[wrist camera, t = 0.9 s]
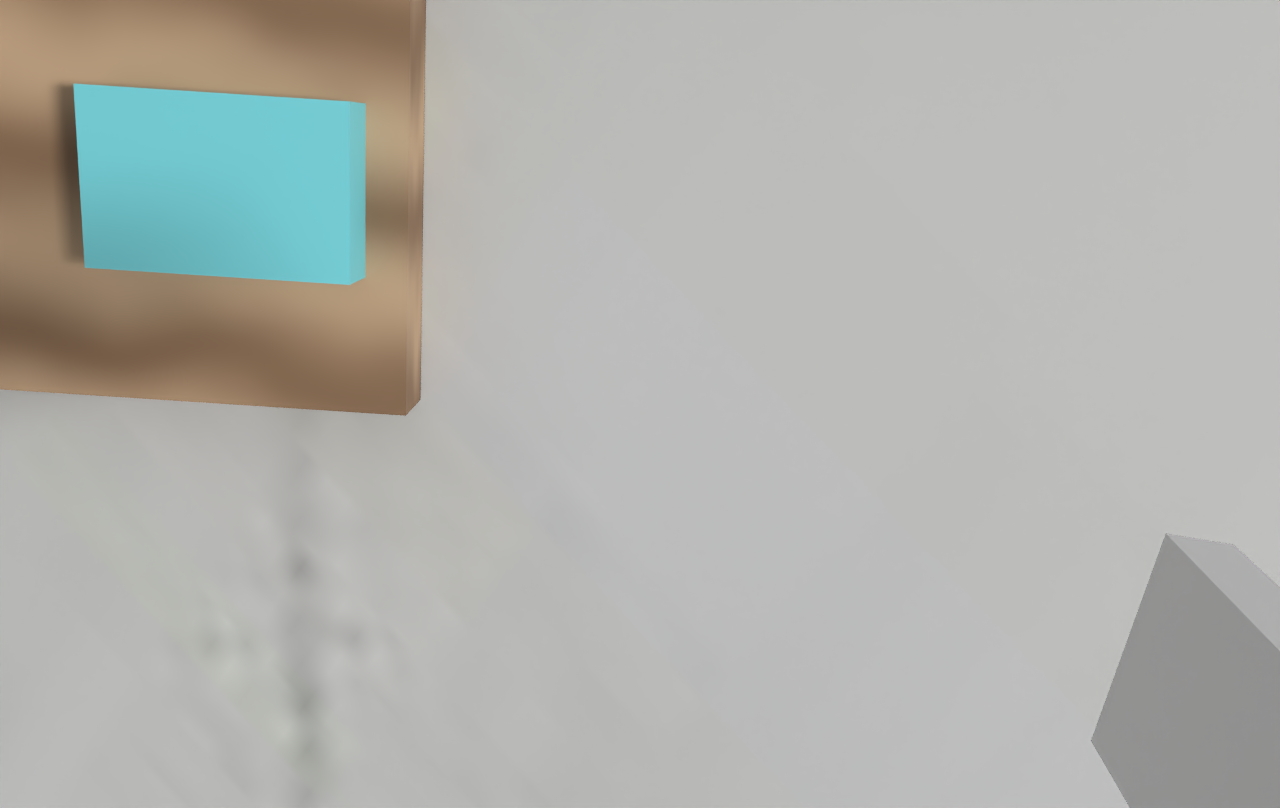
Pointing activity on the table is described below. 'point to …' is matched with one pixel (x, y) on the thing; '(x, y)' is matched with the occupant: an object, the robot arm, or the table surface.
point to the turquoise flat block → (221, 184)
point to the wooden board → (196, 304)
